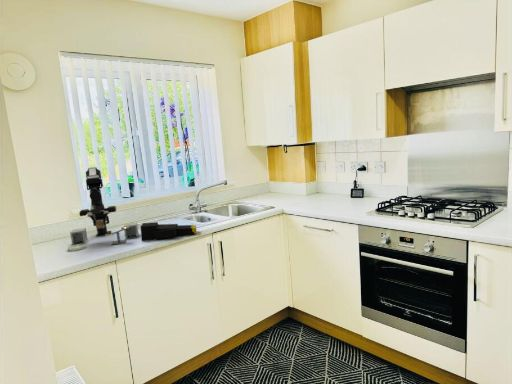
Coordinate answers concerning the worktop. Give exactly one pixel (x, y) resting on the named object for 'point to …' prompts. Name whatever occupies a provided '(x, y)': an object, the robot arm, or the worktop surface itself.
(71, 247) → the dish
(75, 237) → the cover
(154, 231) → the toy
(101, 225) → the block
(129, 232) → the cover
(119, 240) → the balance
